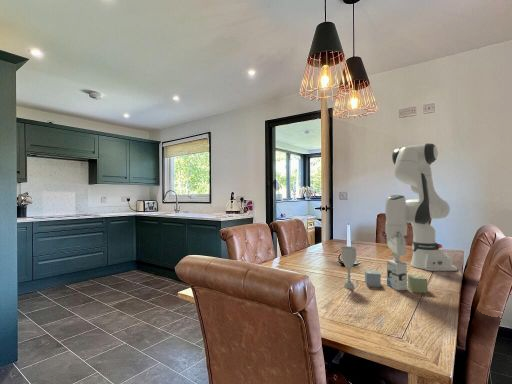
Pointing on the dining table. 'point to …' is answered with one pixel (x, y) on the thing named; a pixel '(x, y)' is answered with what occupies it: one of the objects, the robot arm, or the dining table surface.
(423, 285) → the olive block
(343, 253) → the chalice
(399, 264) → the ink box
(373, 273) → the slate block
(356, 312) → the dining table surface
